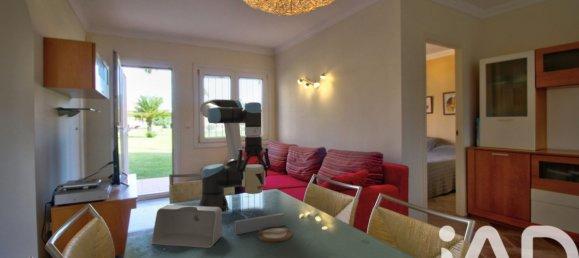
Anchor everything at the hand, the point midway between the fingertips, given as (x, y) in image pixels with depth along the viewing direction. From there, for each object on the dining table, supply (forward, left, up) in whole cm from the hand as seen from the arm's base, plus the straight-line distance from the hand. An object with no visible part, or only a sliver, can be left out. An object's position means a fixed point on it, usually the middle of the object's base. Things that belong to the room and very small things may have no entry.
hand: (253, 185), depth 127 cm
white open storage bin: (+4, -28, -18) cm, 33 cm away
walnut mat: (+17, +3, -17) cm, 25 cm away
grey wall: (+8, 0, -17) cm, 19 cm away
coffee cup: (0, 0, -3) cm, 3 cm away
